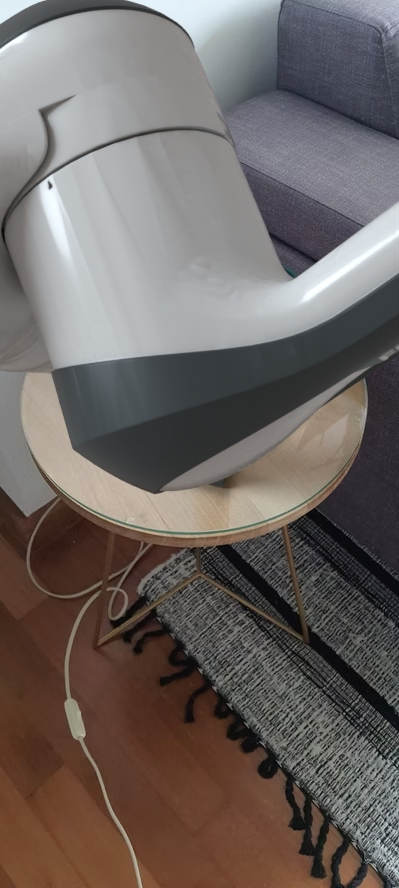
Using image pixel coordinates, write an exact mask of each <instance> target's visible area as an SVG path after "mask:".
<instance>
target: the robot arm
mask: <svg viewBox="0 0 399 888" xmlns="http://www.w3.org/2000/svg"><path fill="white" fill-rule="evenodd" d="M253 194H254V193H253V192H252V189H251V186H250V184H249V182H248V179H247V177H246V174H245V172H244V169H243V167H242V164H241V162H240V160H239V157H238V149H237V146H236V144H235V140H234V138H233V137H232V134H231V131H230V129H229V126H228V124H227V121H226V119H225V117H224V114H223V111H222V109H221V106H220V105H219V102H218V100H217V97H216V95H215V92H214V90H213V88H212V86H211V83H210V81H209V78H208V76H207V73H206V71H205V69H204V66H203V64H202V61H201V60H200V58H199V55H198V53H197V51H196V46H195V43H194V41H193V38H192V37H191V35H190V34H189V33H188V31H187V30H186V29H185V28H184V27H183V26H182V25H181V24H180V23H179V22H177V21H176V20H174V19H172V18H171V17H169V15H166V14H164V13H163V12H161V11H159V10H156V9H153V8H151V7H149V6H147V5H145V4H141V3H138V2H134V1H131V0H41V1H38V2H36V3H34V4H32V5H29V6H27V7H26V8H23V9H22V10H20V11H19V12H17V13H15V14H13V15H12V16H10V17H9V18H7V19H5V20H4V21H3V22H1V23H0V372H8V373H27V374H28V373H29V374H50V375H51V378H52V381H53V385H54V389H55V392H56V396H57V399H58V403H59V407H60V411H61V413H62V417H63V420H64V423H65V427H66V431H67V435H68V439H69V441H70V446H71V448H72V450H73V451H74V452H76V453H77V454H79V455H80V456H81V457H83V458H84V459H86V460H87V461H89V463H91V464H92V465H95V466H96V467H98V468H99V469H101V470H103V471H104V472H105V473H108V474H109V475H111V476H113V477H115V478H117V479H119V480H120V481H121V482H124V483H126V484H128V485H130V486H133V487H135V488H137V489H139V490H141V491H144V492H147V493H150V494H153V495H159V494H162V493H164V492H180V491H186V490H187V491H188V490H192V489H196V488H201V487H203V486H207V485H209V484H210V483H213V482H216V481H219V480H221V479H224V478H226V477H227V478H228V477H231V476H232V475H234V474H237V473H238V472H241V471H242V470H244V469H246V468H248V467H250V466H251V465H253V464H255V463H256V462H258V461H259V460H261V459H262V458H263V457H265V456H266V455H268V454H269V453H271V452H272V451H273V450H275V449H276V448H277V447H278V446H280V445H281V444H283V442H285V441H286V440H287V439H288V438H289V437H290V436H291V435H293V434H294V433H295V432H296V431H297V430H298V429H299V428H300V427H301V426H303V424H304V423H305V422H307V421H308V420H309V419H310V418H311V417H312V416H313V415H314V414H315V413H316V412H318V410H320V409H321V408H323V407H324V406H326V405H327V404H328V403H330V402H331V401H333V400H335V399H336V398H337V397H339V396H340V395H341V394H343V393H344V392H346V391H348V390H349V389H350V388H352V387H353V386H355V385H356V384H358V383H360V382H361V381H362V380H364V379H365V378H367V377H368V376H370V375H372V374H373V373H375V372H376V371H377V370H379V369H381V368H382V367H383V366H385V365H388V364H389V363H390V362H391V361H393V360H395V359H396V358H398V357H399V200H398V201H397V202H395V203H394V204H392V205H391V206H390V207H389V208H387V209H386V210H385V211H383V212H382V213H380V214H379V215H378V216H376V217H375V218H374V219H372V220H371V221H370V222H369V223H367V224H365V226H363V227H362V228H361V229H359V230H358V231H357V232H355V233H354V234H352V235H351V236H350V237H349V238H347V239H346V240H344V241H343V242H342V243H340V244H339V245H338V246H336V247H335V248H334V249H332V250H331V251H330V252H329V253H326V255H325V256H323V257H322V258H321V259H319V260H318V261H317V262H315V263H313V265H311V266H310V267H309V268H307V269H306V270H305V271H303V272H302V273H301V274H298V275H299V276H298V277H297V278H293V277H291V276H290V275H289V274H288V273H287V272H286V271H285V270H284V268H283V266H282V265H281V264H282V262H281V260H280V258H279V256H278V253H277V251H276V248H275V246H274V244H273V241H272V239H271V236H270V234H269V231H268V228H267V225H266V223H265V221H264V218H263V216H262V215H261V211H260V209H259V206H258V204H257V201H256V199H255V196H254V195H253Z"/></svg>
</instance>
